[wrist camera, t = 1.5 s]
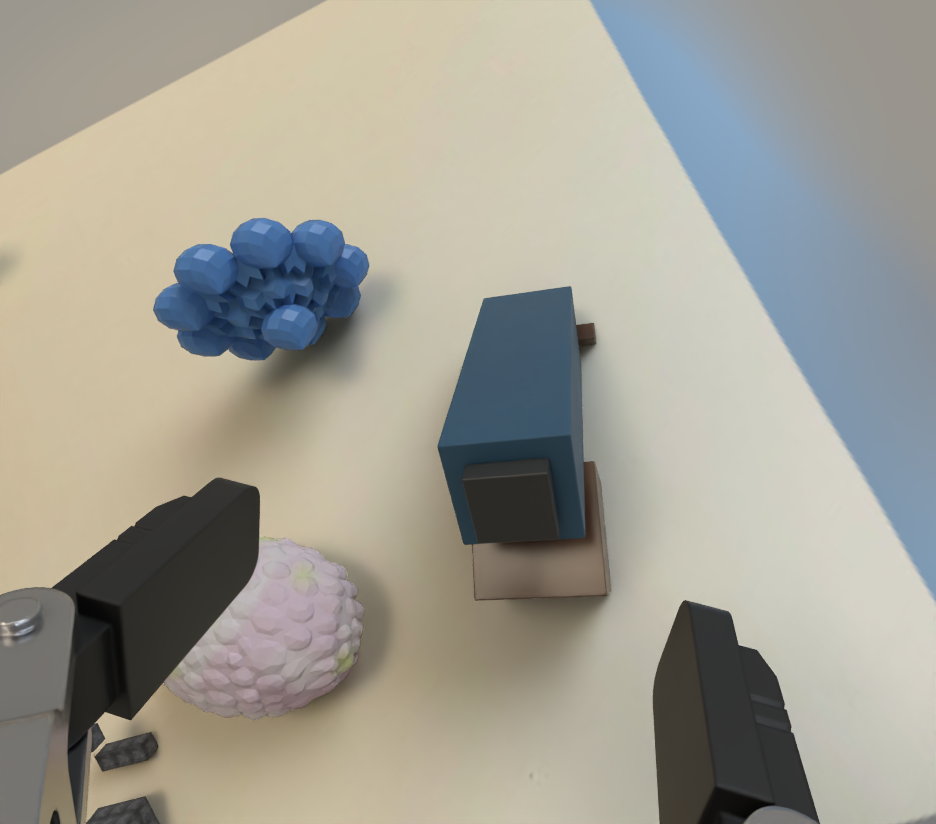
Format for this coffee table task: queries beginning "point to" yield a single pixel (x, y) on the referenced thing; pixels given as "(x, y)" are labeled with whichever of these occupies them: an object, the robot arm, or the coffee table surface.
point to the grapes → (262, 289)
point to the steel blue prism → (518, 423)
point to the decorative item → (275, 638)
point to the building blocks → (133, 817)
